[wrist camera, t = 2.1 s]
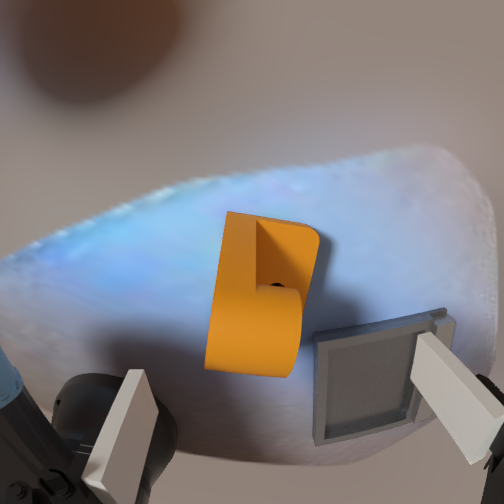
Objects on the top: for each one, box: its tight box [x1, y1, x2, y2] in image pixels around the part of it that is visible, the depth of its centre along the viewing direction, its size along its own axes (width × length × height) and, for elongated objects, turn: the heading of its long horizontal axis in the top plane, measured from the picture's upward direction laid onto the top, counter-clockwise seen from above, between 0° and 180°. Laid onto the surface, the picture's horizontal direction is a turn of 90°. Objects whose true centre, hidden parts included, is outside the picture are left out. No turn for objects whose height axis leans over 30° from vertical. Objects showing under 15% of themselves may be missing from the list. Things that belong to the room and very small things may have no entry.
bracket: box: [204, 211, 320, 378], centre depth 22 cm, size 11×7×12 cm, turn 170°
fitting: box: [312, 308, 456, 446], centre depth 30 cm, size 15×15×2 cm
